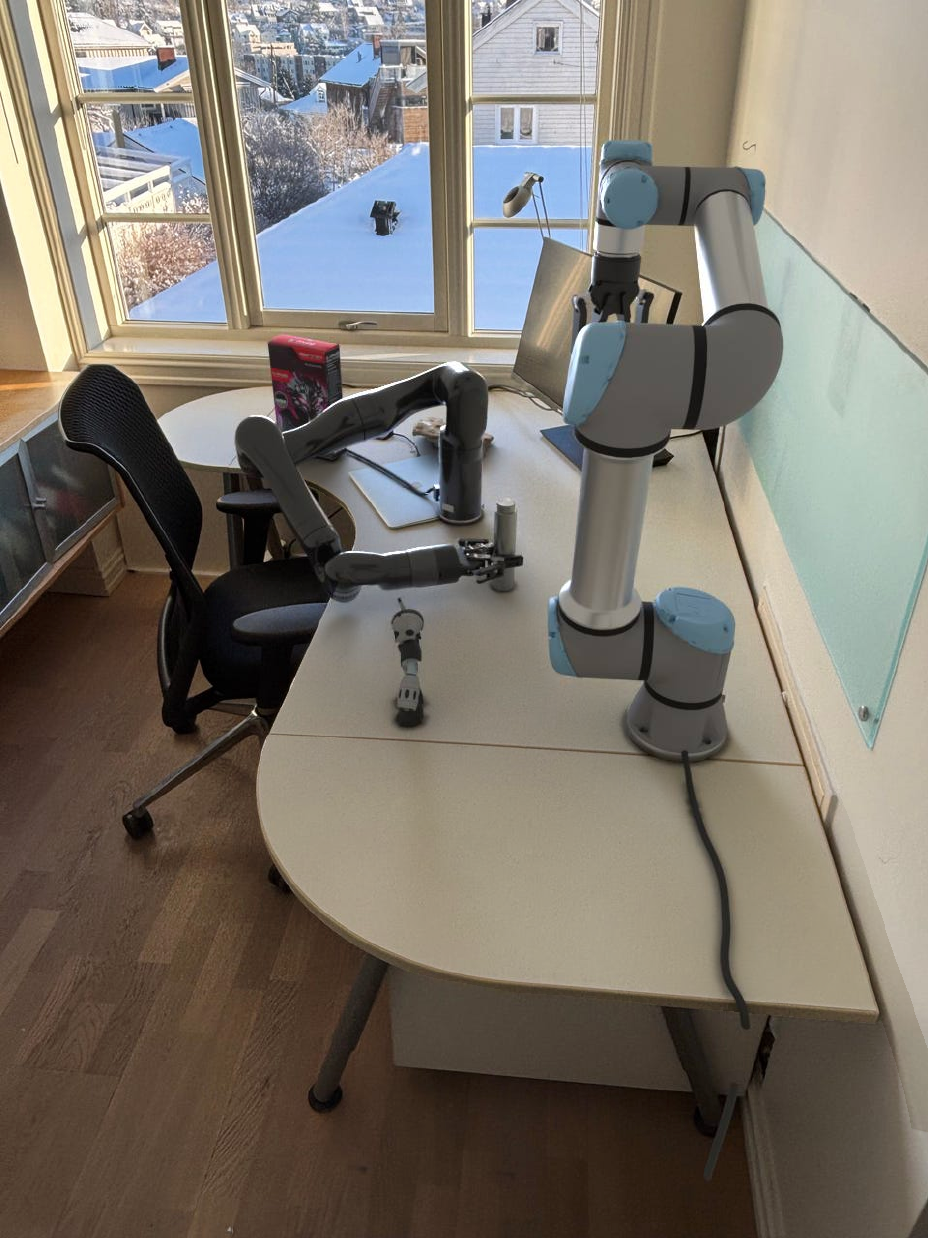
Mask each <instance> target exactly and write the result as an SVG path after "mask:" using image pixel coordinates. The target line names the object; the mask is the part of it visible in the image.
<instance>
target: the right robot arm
mask: <svg viewBox="0 0 928 1238" xmlns="http://www.w3.org/2000/svg"><path fill="white" fill-rule="evenodd" d="M653 148H654V147H653V145H652V143H650V142H649V141H646V140H641V139H640V140H639V139H611V140H608V141H606V142H604V143H603V145H602V147H601V153H600V161H599V163H598V165H599V166H598V169H599V173H598V185H597V201H596V216H595V224H594V237H593V249H594V251H595V252H594V253H593V254H592V259H591V272H590V277H591V280H590V281H591V282H590V285H589V286H588V288H587V291H586V292H584V293H581V294H580V295H579V294H573V295H572V296H571V304H572V308H573V318H572V319H573V320H572V332H571V333H572V334H571V346H570V355H571V356H570V357H571V358H570V362H569V365H568V371H567V377H566V378H567V379H566V386H565V390H564V396H563V404H562V421H563V422H564V424H566V425H569V426H570V427H572V429H573V430H572V434H573V437H574V439H575V441H576V443H577V444H579V446H581V448H582V449H583V455H582V463H581V464H582V465H581V474H580V486H579V497H578V505H577V506H578V507H577V518H576V529H575V535H574V536H575V539H574V548H573V558H572V560H573V561H572V567H571V568H572V569H571V579H568V581H566V582H565V583H564V585H562V587H561V589H560V591H559V594H557V595H555V596H554V595H553V596H551V597H549V599H548V603H547V631H548V632H547V633H548V654H549V661H550V666H551V668H552V670H553V671H554V673H557V674H558V675H560V676H567V677H575V678H577V679H583V678H587V679H605V680H623V681H624V680H625V681H641V682H642V684H641V685H640V688H639V689H638V691H637V692H636V694H635V695H634V697H633V699H632V701H631V702H630V704H629V706H628V708H627V711H626V719H625V728H626V732H627V734H628V736H629V738H630V739H631V741H632V742H634V744H636V745H637V746H638V747H639V748H640V749H641V750H643V751H645V752H646V753H648V754H650V755H651V756H654V757H656V758H659V759H662V760H666V761H670V762H675V763H682V765H683V770H684V771H683V772H684V778H685V783H686V785H685V786H686V790H687V794H688V799H689V803H690V808H691V811H692V814H693V818H694V821H695V824H696V827H697V830H698V833H699V836H700V838H701V840H702V843H703V845H704V847H705V849H706V852H707V853H708V855H709V857H710V860H711V862H712V864H713V867H714V870H715V875H716V877H717V881H718V886H719V887H718V888H719V894H720V907H721V908H720V909H721V939H720V940H721V941H720V955H719V956H720V958H719V959H720V967H721V973H722V977H723V980H724V983H725V985H726V987H727V989H728V991H729V992H730V994H731V996H732V998H733V999H734V1001H735V1004H736V1006H737V1009H738V1013H739V1019H740V1026H741V1028H742V1029H743V1030H745V1031H748V1030H750V1028H751V1021H750V1014H749V1009H748V1006H747V1002H746V1000H745V997H744V996H743V995H742V992H741V991H740V989H739V987H738V986H737V984H736V982H735V981H734V978H733V976H732V972H731V968H730V967H731V966H730V942H731V913H730V899H729V891H728V885H727V884H728V883H727V880H726V876H725V872H724V869H723V865H722V862H721V860H720V857H719V855H718V853H717V851H716V849H715V847H714V845H713V843H712V841H711V838H710V836H709V835H708V831H707V829H706V827H705V826H706V825H705V823H704V821H703V817H702V814H701V812H700V807H699V803H698V800H697V795H696V791H695V787H694V782H693V775H692V769H691V763H694V762H700V761H703V760H706V759H709V758H711V757H714V755H716V754H718V752H720V751H721V750H722V748H723V747H724V744H725V743H726V740H727V739H726V738H727V734H728V721H727V716H726V712H725V708H724V707H725V706H724V704H725V701H726V695H725V694H723V692H724V686H725V682H726V678H727V674H728V673H727V672H728V668H729V664H730V659H731V654H732V651H733V649H734V646H735V632H736V620H735V617H734V614H733V612H732V610H731V609H730V608H729V607H728V606H727V605H726V603H724V602H723V601H722V600H720V599H718V598H717V597H716V596H714V595H712V594H710V593H708V592H706V591H703V590H700V589H696V588H693V587H687V586H674V587H673V586H671V587H669V588H668V589H663V590H661V591H659V593H657V596H656V597H655V599H654V600H653V601H644V600H642V598H641V595H640V593H639V591H638V590H637V588H636V587H635V586H634V583H635V579H636V577H635V576H636V572H637V566H638V565H637V564H638V558H639V553H640V546H641V545H640V544H641V540H642V532H643V527H644V520H645V514H646V507H647V503H648V502H647V501H648V495H649V489H650V482H651V475H652V468H653V464H654V456H656V455H657V454H659V453H661V452H662V451H663V450H664V449H665V448H666V447H667V446H668V445H669V442H670V439H671V434H672V430H685V431H686V430H687V431H708V430H714V429H719V428H721V427H724V426H727V425H730V424H731V423H733V422H735V421H737V420H739V419H741V418H743V417H744V416H746V414H748V413H749V412H750V411H751V410H752V409H754V408H755V407H756V406H757V405H758V403H760V402H761V400H762V399H764V397H765V396H766V394H767V393H768V391H769V390H770V389H771V387H772V386H773V384H774V382H775V380H776V378H777V375H778V373H779V371H780V368H781V365H782V361H783V355H784V336H783V331H782V325H781V321H780V320H779V318H778V315H777V314H776V313H775V312H774V311H773V310H772V309H771V308H770V307H769V305H768V299H767V294H766V289H765V283H764V277H763V271H762V267H761V260H760V254H759V248H758V243H757V237H756V232H755V226H756V225H757V224H759V222H760V220H761V217H762V214H763V211H764V206H765V200H766V185H767V182H766V176H765V174H764V172H763V171H762V170H760V169H757V168H749V167H748V168H747V167H741V166H739V165H738V166H730V167H729V166H728V167H722V166H721V167H718V166H715V167H713V166H712V167H711V166H710V167H709V166H677V165H676V166H675V165H674V166H672V165H654V163H653ZM646 226H670V227H671V226H672V227H673V226H675V227H677V226H678V227H694V237H695V245H696V246H695V247H696V256H697V265H698V266H697V267H698V277H699V287H700V295H701V305H702V315H703V323H702V324H673V323H650V322H649V317H650V309H651V305H652V304H653V301H654V299H655V294H654V293H653V292H651V291H649V290H647V289H645V288H644V289H642V288H640V285H639V278H640V276H641V275H640V274H641V266H642V256H641V254H640V253H641V252H642V251H643V249H644V248H643V246H644V237H645V228H646ZM590 301H591V303H592V304H593V307H592V311H591V320H590V323H588V322H587V321H588V311H587V309H588V308H590ZM635 301H636V304H635V310H634V320H633V321H634V322H632V321H631V319H632V312H631V311H632V310H631V305H632V304H633V302H635ZM612 315H615V316H616V320H615V321H613V322H612V321H609V322H607V321H608V320H609V317H610V316H612ZM587 323H588V324H587ZM728 1087H729V1088H728V1092H727V1095H726V1099H725V1104H724V1108H723V1111H722V1115H721V1118H720V1121H719V1123H718V1127H717V1131H716V1133H715V1136H714V1139H713V1143H712V1145H711V1149H710V1151H709V1154H708V1158H707V1161H706V1164H705V1168H704V1171H703V1179H704V1180H705V1181H709V1182H710V1181H711V1180H712V1177H713V1173H714V1171H715V1170H714V1169H715V1167H716V1163H717V1161H718V1157H719V1154H720V1151H721V1149H722V1145H723V1143H724V1139H725V1137H726V1133H727V1131H728V1128H729V1124H730V1121H731V1119H732V1115H733V1112H734V1109H735V1104H736V1101H737V1096H738V1092H739V1087H740V1084H739V1083H737V1082H731V1081H730V1082H729V1086H728Z"/></svg>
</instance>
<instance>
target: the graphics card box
mask: <svg viewBox="0 0 928 1238" xmlns="http://www.w3.org/2000/svg"><path fill="white" fill-rule="evenodd" d="M340 347H341V346H340V343H335V342H333V343H332V342H328V341H322V340H317V339H311V338H306V337H300V336H295V335H289V334H285V333H282V334H279V335H277V336H274V337H273V338H271V339H270V340H268V341H267V351H268V359H269V367H270V369H269V370H270V377H271V378H270V379H271V385H272V386H271V387H272V395H273V403H274V412H275V413H274V414H275V423H276V424H277V425H278V426H279V428H280V429H281V431H282V433H283V432H286V431H290V430H293V429H296V428H298V427H301V426H303V425H305V424H306V423H308V422H309V421H311V420H312V419H314V418H315V417H316V416H317V415H319V414H320V413H321V412H322V411H324V410H325V409H326V408H328V407H329V406H331V405H332V404H334V403H335V402H337V401H339V400H341V399H343V398H344V393H343V380H342V364H341V363H342V362H341V349H340ZM347 449H348V447H346V448H343V449H340V450H337V451H334V452H331V453H328V454H325V455H322V456H319V457H318V458H322V459H326V460H330V461H333V460H335V459H337V458H339V457H340V456H342V455H344V454H345V453H348V452H347Z"/></svg>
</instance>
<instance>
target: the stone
mask: <svg viewBox="0 0 928 1238" xmlns="http://www.w3.org/2000/svg"><path fill="white" fill-rule="evenodd" d="M445 424H446V420H444V419H443V418H439V417H434V416H429V417H427V418H419V419H418V420H417V422H415V423H413V426H412V432H411V434H412V436H413V437H417V436H419V437H420V436H421V437H424V438H425V440H426V441H428V442H431V443H433V446H434V447H437V448H439V430H440V428H441V427H442V426H443V425H445ZM494 439H495V437H494V436H493V435H492V434H489V433H487V432H485V433H484V435H483V448H482V458H483V457H484V455H485V454H486V451H487V449H488V448H489V446H490V445H491V444H492V442H493V441H494Z"/></svg>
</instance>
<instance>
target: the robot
mask: <svg viewBox="0 0 928 1238" xmlns="http://www.w3.org/2000/svg"><path fill="white" fill-rule="evenodd" d="M397 603H398V604H399V607H400V610H399V611H397V612H396V613H395V614H394V615H392V618H391V621H390V624H391V630H392V632H393V635H394V643H395V644H398V645H397V646H396V647H397V649H398V651H399V654H400V668H401V669H402V671H403V674H404V675H403V676H402V678H401V680H400V683H399V686H398V689H397V691H398V692H397V696H396V699H395V703H396V705H397V709H398V712H397V714H396V717H395V722H396V723H397V724H398V725H399V726H400V727H405V728H411V727H414V726H417V725H420V724H422V722H423V720H424V718H425V715H424V707H423V704H424V703H425V702H424V694H423V692H422V689H421V684H420V683H421V682H420V679H419V676H418V675H417V674H418V673H419V662H420V663H421V662H422V660H423V653H422V652H423V651H422V647H421V643H420V641H421V640H422V634H421V632H422V631H423V629H424V628H425V627H424V626H425V619H424V617H423V615H422V614H421V612H420V611H418V610H416V609H413V608H406V605H405V604H404V602H403V600H402V599H401V597H398V598H397Z"/></svg>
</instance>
